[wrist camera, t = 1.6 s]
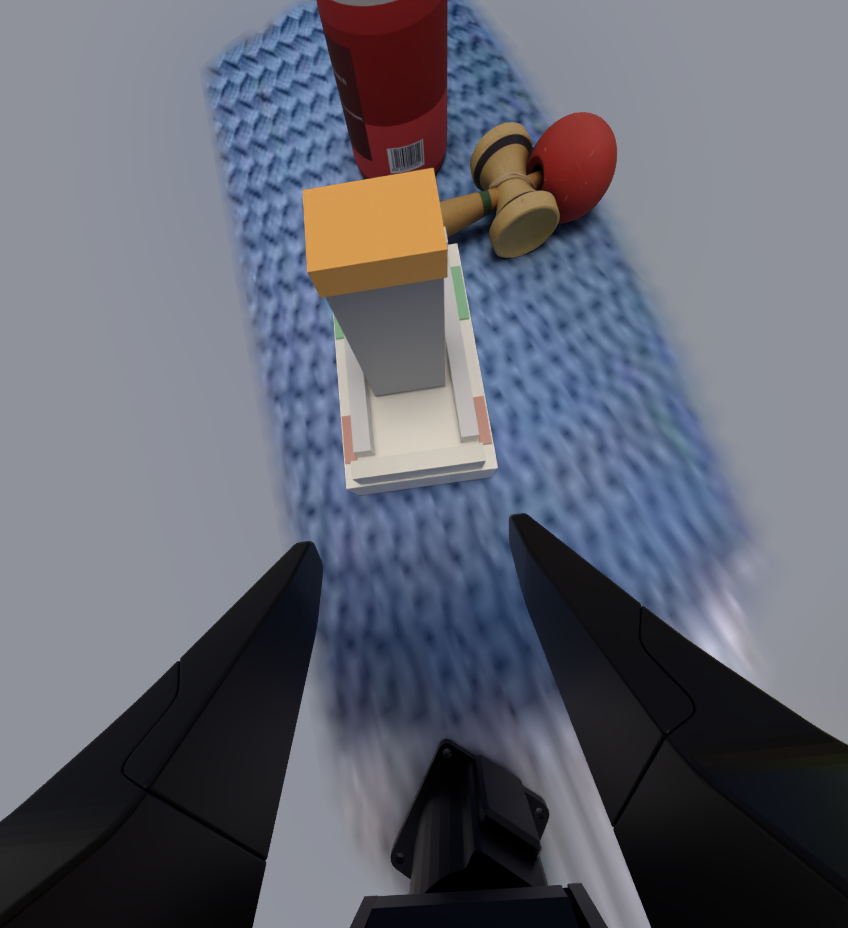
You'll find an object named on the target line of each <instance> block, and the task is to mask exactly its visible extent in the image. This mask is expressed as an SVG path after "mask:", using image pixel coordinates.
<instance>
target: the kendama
mask: <svg viewBox="0 0 848 928" xmlns="http://www.w3.org/2000/svg"><path fill="white" fill-rule="evenodd" d="M616 162H617V146H616V140H615V136H614V134H613V132H612V130H611V128H610V127H609V125H608V124H607V123H606V122H605V121H604V120H603V119H602V118H601V117H599V116H597V115H594V114H591V113H585V112H580V113H573V114H570V115H568V116H565V117H563V118H561V119H560V120H558V121H557V122H555V123H554V124H553V125H552V126H550V127H549V128H548V129H547V130H546V131H545V132H544V134H543V135H542V136H541V138H540V139H539V140H538V142H537V143H536V145H535V147H534V148H533V147H532V141H531V139H530V137H529V135H528V133H527V131H526V129H525V128H524V126H522V125H521V124H518V123H514V122H509V123H503V124H501V125H498V126H497V127H495V128H493V129H492V130H490V131H489V132H488V133H486V135H485V136H484V137H483V138H482V139H481V140H480V141H479V143H478V144H477V146H476V148H475V150H474V152H473V154H472V157H471V162H470V169H471V174H472V178H473V182H474V184H475V186H476V187H477V188H478V189H480V190H481V192H476V193H472V194H468V195H464V196H460V197H456V198H452V199H449V200H445V201H442V202H440V208H441V214H442V220H443V226H444V227H445V228H446V234H447V238H448V237H450V236H452V235H454V234H455V233H457V232H459V231H461V230H463V229H464V228H466V227H468V226H469V225H471V224H473V223H474V222H476V221H478V220H480V219H481V218H483V217H484V216H486V215H488V214H489V213H491V212H493V211H494V210H496V209H497V211H496V217H495V219H494V221H493V223H492V225H491V227H490V231H489V239H490V241H491V244H492V247H493V249H494V251H495V253H496V255H498V256H499V257H503V258H513V257H518V256H521V255H524V254H526V253H528V252H530V251H532V250H534V249H535V248H537V247H538V246H540V245H541V244H542V243H543V242H544V241H546V240H547V239H548V238H549V236H550V235H551V234H552V233H553V231H554V230H555V228H556V227H557V225H558V223H567V222H571V221H574V220H576V219H578V218H580V217H582V216H584V215H585V214H586V213H588V212H589V211H590V210H591V209H593V208H594V207H595V206H596V204H597V203H598V202H599V201H600V200H601V198H602V197H603V196H604V194H605V193H606V191H607V189H608V187H609V185H610V183H611V181H612V178H613V175H614V172H615V168H616Z"/></svg>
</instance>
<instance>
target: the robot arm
mask: <svg viewBox="0 0 848 928" xmlns="http://www.w3.org/2000/svg"><path fill="white" fill-rule="evenodd" d="M509 542H510V547H511V551H512V555H513V559H514V563H515V567H516V571H517V575H518V578H519V582H520V586H521V590H522V594H523V597H524V601H525V604H526V606H527V609H528V612H529V614H530V617H531V620H532V622H533V625H534V627H535V630H536V632H537V635H538V638H539V640H540V643H541V645H542V648H543V650H544V653H545V656H546V658H547V661H548V663H549V666H550V668H551V671H552V674H553V676H554V679H555V681H556V684H557V686H558V689H559V692H560V694H561V697H562V699H563V702H564V704H565V707H566V709H567V712H568V715H569V717H570V720H571V722H572V725H573V727H574V730H575V733H576V735H577V738H578V740H579V743H580V745H581V748H582V751H583V753H584V756H585V758H586V761H587V763H588V766H589V769H590V771H591V774H592V776H593V779H594V781H595V784H596V787H597V789H598V792H599V794H600V797H601V799H602V802H603V805H604V807H605V810H606V812H607V815H608V817H609V820H610V822H611V825H612V826H613V827H614V833H615V836H616V838H617V841H618V843H619V846H620V849H621V851H622V854H623V856H624V859H625V861H626V864H627V867H628V869H629V872H630V874H631V877H632V879H633V882H634V885H635V887H636V890H637V892H638V895H639V897H640V900H641V903H642V905H643V908H644V910H645V913H646V915H647V918H648V920H649V923H650V926H651V928H848V745H847V744H845V743H843V742H842V741H840V740H838V739H836V738H835V737H833V736H831V735H829V734H828V733H826V732H824V731H822V730H821V729H819V728H818V727H816V726H815V725H813V724H812V723H810V722H808V721H807V720H805V719H804V718H802V717H801V716H799V715H798V714H796V713H795V712H793V711H792V710H790V709H789V708H788V707H786V706H785V705H783V704H782V703H780V702H779V701H777V700H776V699H774V698H773V697H771V696H770V695H768V694H767V693H765V692H764V691H762V690H761V689H759V688H758V687H756V686H755V685H753V684H752V683H750V682H749V681H747V680H746V679H744V678H743V677H742V676H740V675H739V674H737V673H736V672H734V671H733V670H731V669H730V668H728V667H727V666H725V665H724V664H722V663H721V662H719V661H718V660H716V659H715V658H714V657H712V656H711V655H709V654H708V653H706V652H705V651H703V650H702V649H701V648H699V647H698V646H696V645H695V644H693V643H692V642H691V641H689V640H688V639H686V638H685V637H684V636H682V635H681V634H680V633H678V632H677V631H676V630H674V629H673V628H672V627H670V626H669V625H668V624H666V623H665V622H664V621H662V620H661V619H660V618H659V617H657V616H656V615H655V614H654V613H652V612H651V611H650V610H648V609H647V608H646V607H644V606H642V607H641V604H640V603H639V602H638V601H637V600H636V599H634V598H633V597H632V596H630V595H629V594H628V593H627V592H625V591H624V590H623V589H622V588H620V587H619V586H618V585H616V584H615V583H614V582H613V581H611V580H610V579H609V578H608V577H606V576H605V575H604V574H602V573H601V572H600V571H599V570H597V569H596V568H595V567H594V566H592V565H591V564H590V563H588V562H587V561H586V560H585V559H583V558H582V557H581V556H580V555H578V554H577V553H576V552H575V551H573V550H572V549H571V548H569V547H568V546H567V545H566V544H564V543H563V542H562V541H561V540H559V539H558V538H557V537H555V536H554V535H553V534H552V533H550V532H549V531H548V530H547V529H545V528H544V527H543V526H541V525H540V524H539V523H538V522H536V521H535V520H534V519H533V518H531V517H530V516H529V515H527V514H525V513H521V514H513V515H511V516H510V517H509ZM322 577H323V564H322V561H321V558H320V556H319V554H318V551H317V549H316V546H315V544H314V543H313V542H312V541H306V542H299V543H296V544H295V545H294V546H293V547H292V548H291V549H290V550H289V551H288V552H287V553H286V554H284V555H283V556H282V557H281V558H280V560H279V561H277V562H276V563H275V565H273V566H272V567H271V568H270V569H269V570H268V571H267V572H266V573H265V574H264V575H263V576H262V577H261V578H260V579H259V580H258V581H257V582H256V583H255V584H254V585H253V586H252V587H251V588H250V589H249V590H248V591H247V592H246V593H245V594H244V596H243V597H241V598H240V599H239V600H238V601H237V602H236V603H235V604H234V605H233V606H232V607H231V608H230V609H229V610H228V611H227V612H226V613H225V614H224V615H223V616H222V617H221V618H220V620H218V621H217V622H216V623H215V624H214V625H213V626H212V627H211V628H210V629H209V630H208V632H206V633H205V634H204V635H203V636H202V637H201V638H200V639H199V640H198V641H197V642H196V643H195V644H194V645H193V646H192V647H191V648H190V649H189V650H188V651H187V652H186V653H185V654H184V655H183V656H182V657H181V658H180V661H177V662H176V663H175V664H174V665H173V666H172V667H171V668H170V669H169V670H168V671H167V672H166V673H165V674H164V675H163V676H162V677H161V678H160V679H159V680H158V681H157V682H156V683H155V684H154V685H153V686H152V687H151V688H149V689H148V690H147V691H146V693H144V694H143V695H142V696H141V697H140V698H139V699H138V700H137V701H136V702H135V703H134V704H133V705H132V706H131V707H130V708H128V709H127V711H125V712H124V713H123V714H122V715H121V716H120V717H119V718H117V719H116V720H115V721H114V722H113V723H112V724H111V725H110V726H109V727H108V728H107V729H105V731H103V732H102V733H101V734H100V735H99V736H98V737H96V738H95V739H94V740H93V741H92V742H91V743H90V744H89V745H88V746H87V747H85V748H84V749H83V750H82V751H81V752H80V753H79V754H77V755H76V756H75V757H74V758H73V759H72V760H71V761H70V762H69V763H67V764H66V765H65V766H64V767H63V768H62V769H61V770H60V771H58V772H57V773H56V774H55V775H54V776H53V777H52V778H51V779H49V780H48V781H47V782H46V783H45V784H44V785H43V786H42V787H40V788H39V789H38V790H37V791H36V792H35V793H34V794H33V795H31V796H30V797H29V798H28V799H27V800H26V801H25V802H24V803H23V804H21V805H20V806H19V807H18V808H16V809H15V810H14V811H13V812H12V813H11V814H10V815H8V816H7V817H6V818H4V819H3V820H2V821H1V822H0V928H252V927H253V923H254V918H255V913H256V909H257V904H258V899H259V895H260V890H261V886H262V881H263V876H264V872H265V867H266V861H265V860H266V859H267V857H268V852H269V847H270V843H271V838H272V834H273V829H274V824H275V820H276V815H277V810H278V806H279V801H280V797H281V792H282V787H283V783H284V778H285V774H286V769H287V764H288V760H289V755H290V751H291V746H292V741H293V737H294V732H295V727H296V723H297V718H298V714H299V709H300V704H301V699H302V695H303V690H304V686H305V681H306V677H307V672H308V667H309V663H310V658H311V654H312V649H313V644H314V640H315V635H316V630H317V623H318V615H319V606H320V596H321V586H322ZM446 748H448V749H450V750H451V753H450V754H448V755H447V754H445V753H444V752H443V750H444V749H446ZM537 808H542V811H541V813H536V812H535V810H536V809H537ZM548 819H549V810H548V808H547V805H546V803H545V801H544V800H543V799H542V798H540V797H539V796H537V795H536V794H534V793H533V792H531V791H529V790H528V789H526V788H525V787H523V785H522V782H521V780H520V779H519V778H517V777H515V776H514V775H512V774H511V773H509V772H508V771H506V770H504V769H503V768H501V767H500V766H498V765H497V764H495V763H493V762H492V761H490V760H489V759H487V758H485V757H484V756H482V755H477V756H475V755H473V754H471V753H470V752H468V751H467V750H465V749H464V748H462V747H460V746H459V745H457V744H456V743H454V742H453V741H451V740H448V739H444V740H443V741H441V742H440V744H439V746H438V748H437V750H436V752H435V755H434V757H433V759H432V761H431V763H430V766H429V768H428V770H427V772H426V774H425V777H424V779H423V781H422V783H421V785H420V788H419V790H418V792H417V794H416V796H415V799H414V801H413V803H412V805H411V807H410V810H409V812H408V814H407V816H406V818H405V821H404V823H403V825H402V827H401V829H400V832H399V834H398V836H397V838H396V840H395V843H394V845H393V848H392V852H391V863H392V865H393V866H394V867H395V868H396V869H397V870H398V871H400V872H401V873H402V874H404V875H405V876H407V877H408V878H409V879H411V883H410V892H409V894H408V895H391V896H365V897H364V899H363V901H362V903H361V905H360V907H359V909H358V912H357V913H356V916H355V918H354V920H353V922H352V924H351V926H350V928H608V927H607V926H606V924H605V922H604V920H603V919H602V917H601V915H600V914H599V912H598V910H597V909H596V907H595V905H594V904H593V902H592V900H591V898H590V897H589V895H588V893H587V892H586V890H585V888H584V887H583V885H582V883H572V884H568V888H562V886H561V885H553V886H548V883H547V880H546V876H545V873H544V869H543V866H542V863H541V859H540V856H539V855H540V852H541V850H542V847H541V843H540V840H541V837H542V835H543V832H544V829H545V827H546V824H547V822H548ZM399 852H400V853H403V855H404V857H398V855H397V853H399Z"/></svg>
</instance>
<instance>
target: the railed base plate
mask: <svg viewBox="0 0 848 928" xmlns="http://www.w3.org/2000/svg"><path fill="white" fill-rule="evenodd" d="M444 231H445V237H446V243H447V249H448V277H447V278H444V312H445V386H438V387H431V388H424V389H418V390H411V391H404V392H397V393H391V394H384V395H377V396H375V395H374V393H373V391H372V389H371V387H370V385H369V383H368V381H367V379H366V377H365V375H364V373H363V371H362V369H361V367H360V365H359V363H358V361H357V359H356V357H355V355H354V353H353V351H352V349H351V347H350V345H349V343H348V341H347V339H346V337H345V335H344V333H343V331H342V329H341V327H340V325H339V323H338V321H337V319H336V317H335V315H334V313H333V319H334V332H335V345H336V358H337V371H338V384H339V398H340V411H341V424H342V437H343V450H344V463H345V477H346V489H348V490H350V491H351V492H353V493H355V494H357V495H366V494H373V493H381V492H388V491H395V490H403V489H410V488H417V487H425V486H432V485H439V484H446V483H454V482H461V481H468V480H476V479H483V478H490V477H492V476H493V474H494V473H495V471H496V470H497V469H498V466H497V461H496V455H495V450H494V444H493V439H492V433H491V427H490V422H489V416H488V411H487V405H486V400H485V394H484V389H483V383H482V378H481V372H480V367H479V361H478V356H477V350H476V345H475V339H474V334H473V328H472V323H471V317H470V312H469V306H468V300H467V295H466V289H465V284H464V278H463V273H462V267H461V262H460V256H459V251H458V245H457V243H456V244H450V245H448V239H447V234H446V228H445V227H444Z"/></svg>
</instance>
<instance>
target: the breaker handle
mask: <svg viewBox="0 0 848 928" xmlns="http://www.w3.org/2000/svg"><path fill="white" fill-rule="evenodd" d="M303 205H304V222H305V239H306V256H307V272H308V274H309V276H310V278H311V280H312V282H313V284H314V286H315V288H316V290H317V291H318V293H319V295H320V297H321V298H322V297H326V299H327V301H328V303H329V305H330V307H331V309H332V311H333V313H334V315H335V317H336V319H337V321H338V323H339V325H340V327H341V329H342V331H343V333H344V335H345V337H346V339H347V341H348V343H349V345H350V347H351V349H352V351H353V353H354V355H355V357H356V359H357V361H358V363H359V365H360V367H361V369H362V371H363V373H364V375H365V377H366V379H367V381H368V383H369V385H370V387H371V389H372V391H373V393H374V395H375V396H377V395H384V394H391V393H397V392H404V391H411V390H418V389H424V388H431V387H438V386H445V312H444V278H447V277H448V249H447V243H446V237H445V231H444V226H443V220H442V214H441V208H440V202H439V197H438V191H437V185H436V179H435V173H434V168H429V169H423V170H418V171H412V172H406V173H400V174H394V175H388V176H383V177H377V178H371V179H365V180H359V181H354V182H348V183H342V184H336V185H330V186H324V187H319V188H313V189H307V190H303Z"/></svg>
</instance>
